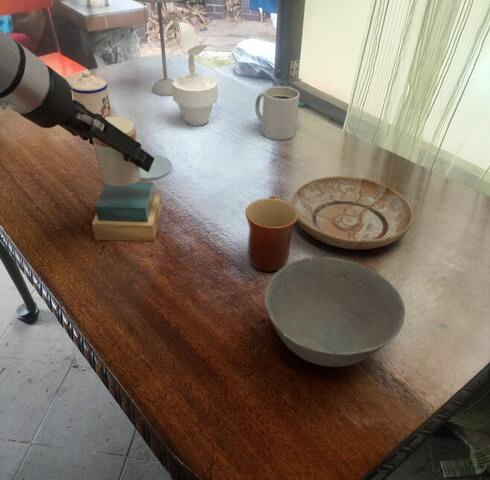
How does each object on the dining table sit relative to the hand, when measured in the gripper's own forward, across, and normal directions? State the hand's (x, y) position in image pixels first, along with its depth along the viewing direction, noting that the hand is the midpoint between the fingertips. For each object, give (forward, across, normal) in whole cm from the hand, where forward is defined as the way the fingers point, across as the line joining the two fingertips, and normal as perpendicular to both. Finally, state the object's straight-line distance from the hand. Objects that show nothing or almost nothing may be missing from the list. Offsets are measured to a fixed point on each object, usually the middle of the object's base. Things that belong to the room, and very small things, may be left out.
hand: (133, 157), depth 82 cm
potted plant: (+39, -19, +21) cm, 48 cm away
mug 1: (+44, +1, +27) cm, 52 cm away
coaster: (+19, -12, +2) cm, 23 cm away
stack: (+6, 0, -11) cm, 13 cm away
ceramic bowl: (+24, +35, +6) cm, 43 cm away
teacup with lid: (+29, -42, +11) cm, 52 cm away
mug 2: (+11, +28, -6) cm, 30 cm away
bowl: (+1, +46, -16) cm, 49 cm away
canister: (-1, 0, -4) cm, 4 cm away
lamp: (+47, -40, +30) cm, 69 cm away
